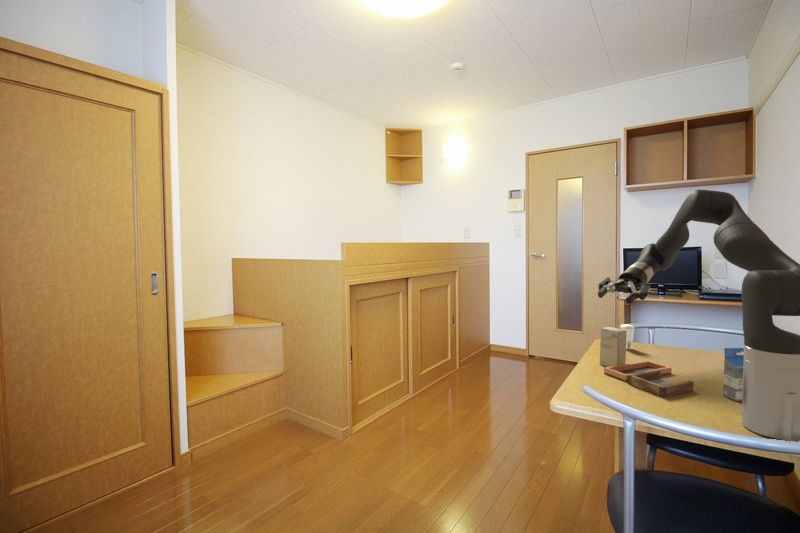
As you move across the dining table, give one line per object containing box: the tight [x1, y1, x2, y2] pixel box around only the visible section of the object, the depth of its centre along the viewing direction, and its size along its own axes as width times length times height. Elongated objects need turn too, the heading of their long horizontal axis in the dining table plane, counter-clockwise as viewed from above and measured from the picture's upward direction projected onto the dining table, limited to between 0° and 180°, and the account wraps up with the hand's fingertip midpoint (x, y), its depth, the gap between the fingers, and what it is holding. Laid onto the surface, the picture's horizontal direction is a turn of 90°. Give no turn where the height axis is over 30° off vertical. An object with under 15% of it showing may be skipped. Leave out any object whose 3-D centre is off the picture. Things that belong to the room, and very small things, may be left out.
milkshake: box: [619, 322, 637, 351], centre depth 139 cm, size 4×5×10 cm
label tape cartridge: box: [722, 347, 744, 402], centre depth 93 cm, size 9×4×12 cm, turn 88°
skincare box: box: [599, 326, 627, 367], centre depth 120 cm, size 6×4×12 cm
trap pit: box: [603, 360, 672, 383], centre depth 113 cm, size 8×18×2 cm, turn 109°
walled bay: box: [627, 370, 695, 398], centre depth 102 cm, size 10×11×2 cm
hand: (613, 298), depth 121 cm, fingers open, 8 cm apart
